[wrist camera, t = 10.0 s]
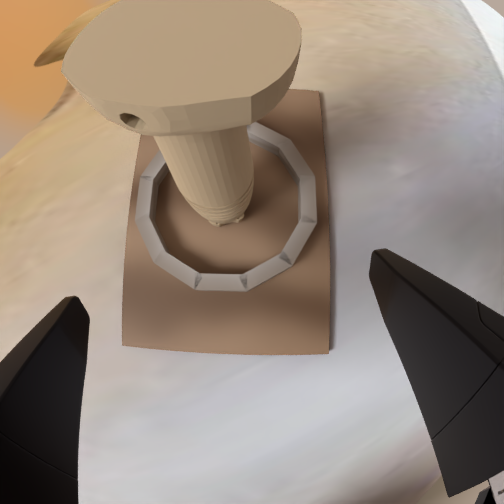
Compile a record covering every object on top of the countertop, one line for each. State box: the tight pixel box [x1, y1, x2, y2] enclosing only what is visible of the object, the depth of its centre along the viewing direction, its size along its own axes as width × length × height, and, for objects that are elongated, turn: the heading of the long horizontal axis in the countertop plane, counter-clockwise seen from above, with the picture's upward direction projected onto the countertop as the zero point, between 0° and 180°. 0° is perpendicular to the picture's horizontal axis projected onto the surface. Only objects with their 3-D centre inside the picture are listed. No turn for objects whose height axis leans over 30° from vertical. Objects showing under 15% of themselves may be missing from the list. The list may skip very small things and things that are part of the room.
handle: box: [61, 0, 302, 227], centre depth 13 cm, size 5×6×15 cm
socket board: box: [122, 89, 330, 355], centre depth 20 cm, size 20×14×2 cm
